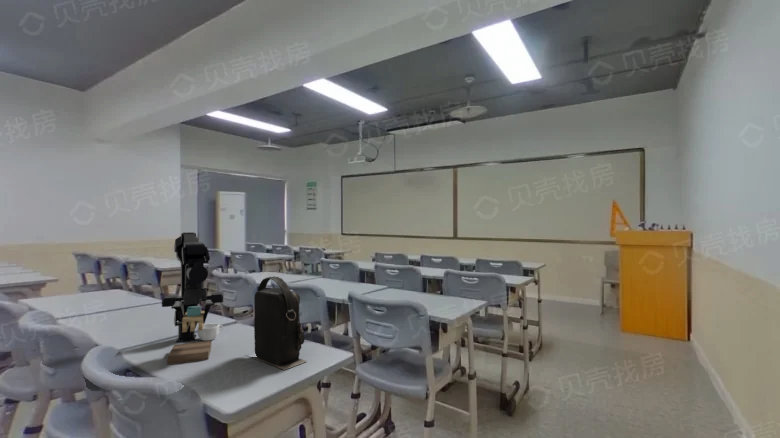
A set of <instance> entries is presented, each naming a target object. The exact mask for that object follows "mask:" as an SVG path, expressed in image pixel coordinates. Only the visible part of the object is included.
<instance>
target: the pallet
mask: <svg viewBox="0 0 780 438" xmlns="http://www.w3.org/2000/svg"><path fill="white" fill-rule="evenodd" d="M204 312H205V310H201V314H200V315H198V316H187V312H186V313H185V315H184V317H183V319H182V332H187V329H188V327H189V325H190V332H191V331H196V329H197V327H198V331H200V330H203V327H204V324H206V322H205V323H204V321H203V318H204ZM197 321H198V323H197ZM197 325H198V326H197ZM198 331H197V332H198Z"/></svg>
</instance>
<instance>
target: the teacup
mask: <svg viewBox="0 0 780 438" xmlns="http://www.w3.org/2000/svg"><path fill="white" fill-rule="evenodd" d="M220 327H221V328H220ZM196 329H197V336H198V339H199V340H201V342H204V341H213V340H215V339H217V337H218V336H219V333H221V332H222V331H223V329H224V326H223V324H219V323H215V322H212V323H205V324H204V327H203V330H200V331H198V326H196Z"/></svg>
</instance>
